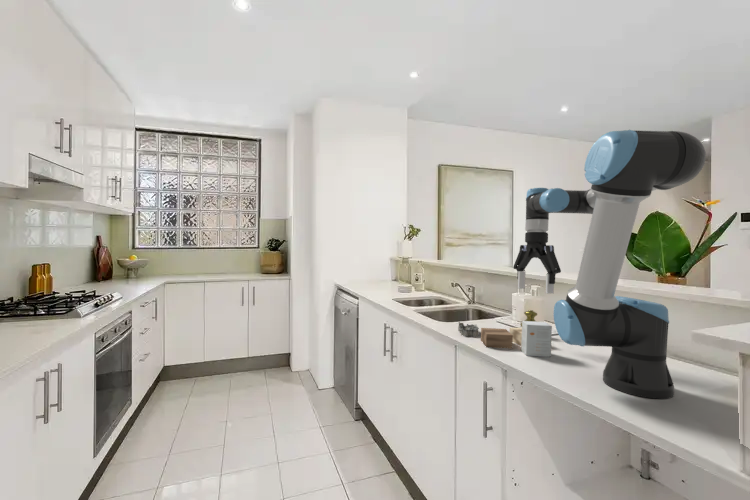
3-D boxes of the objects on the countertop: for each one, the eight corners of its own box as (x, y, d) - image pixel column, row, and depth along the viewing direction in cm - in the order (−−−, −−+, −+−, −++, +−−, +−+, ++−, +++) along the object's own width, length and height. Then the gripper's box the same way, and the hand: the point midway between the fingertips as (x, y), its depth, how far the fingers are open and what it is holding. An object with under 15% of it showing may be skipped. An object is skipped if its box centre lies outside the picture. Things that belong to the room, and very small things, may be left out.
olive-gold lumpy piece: (517, 332, 150) (518, 308, 149) (535, 332, 150) (536, 308, 149) (524, 337, 142) (525, 311, 142) (543, 337, 142) (544, 312, 142)
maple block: (545, 347, 130) (546, 333, 130) (522, 347, 128) (523, 333, 128) (530, 340, 139) (531, 327, 139) (509, 340, 137) (509, 327, 137)
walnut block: (512, 349, 126) (512, 335, 126) (486, 348, 127) (486, 334, 127) (505, 342, 135) (505, 328, 135) (480, 340, 136) (481, 327, 136)
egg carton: (457, 330, 152) (457, 320, 151) (475, 331, 151) (476, 321, 150) (459, 336, 141) (460, 326, 141) (479, 337, 140) (479, 327, 140)
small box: (544, 352, 123) (546, 321, 123) (551, 357, 118) (552, 325, 117) (520, 350, 124) (521, 320, 124) (525, 356, 118) (527, 324, 118)
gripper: (574, 231, 118) (571, 295, 119) (520, 233, 142) (518, 286, 142) (556, 230, 116) (554, 295, 116) (504, 232, 140) (503, 286, 140)
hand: (534, 290), depth 129 cm, fingers open, 13 cm apart
